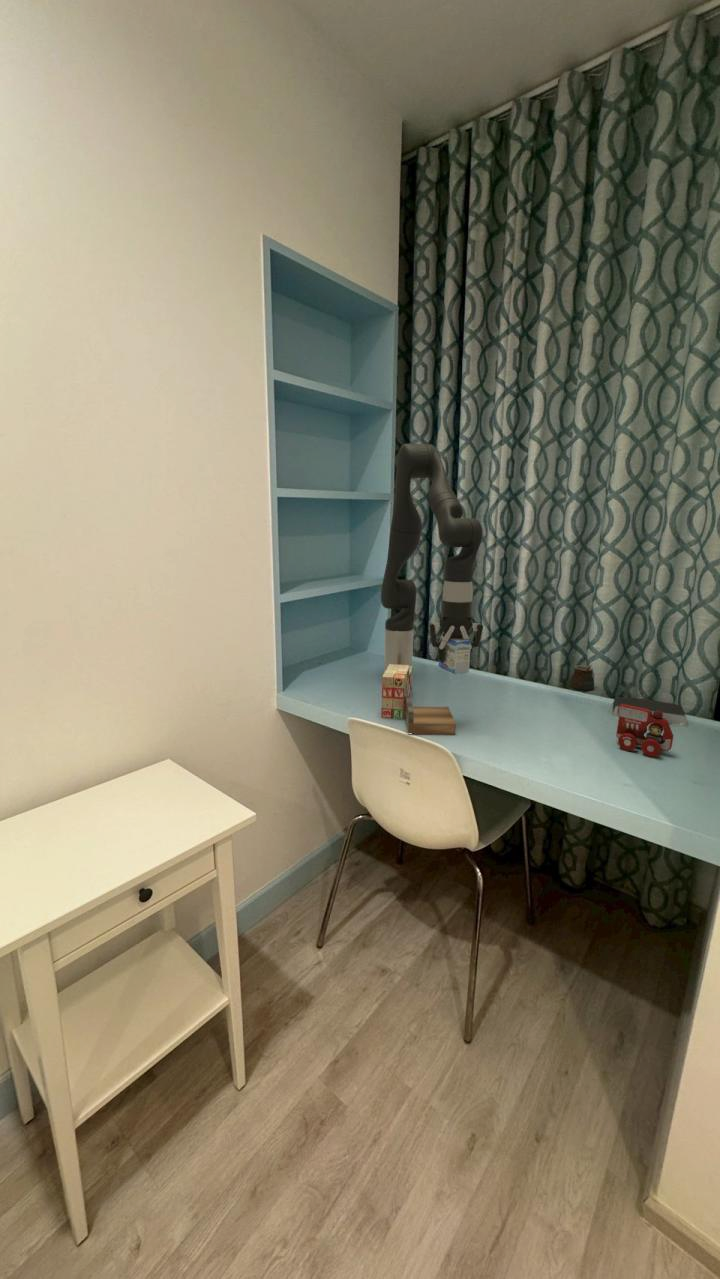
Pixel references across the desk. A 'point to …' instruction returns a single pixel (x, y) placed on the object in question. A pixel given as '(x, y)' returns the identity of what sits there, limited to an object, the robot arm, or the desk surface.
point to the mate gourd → (582, 678)
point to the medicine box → (456, 656)
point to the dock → (428, 720)
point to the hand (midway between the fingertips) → (453, 661)
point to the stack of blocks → (396, 690)
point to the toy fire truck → (643, 730)
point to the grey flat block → (654, 709)
